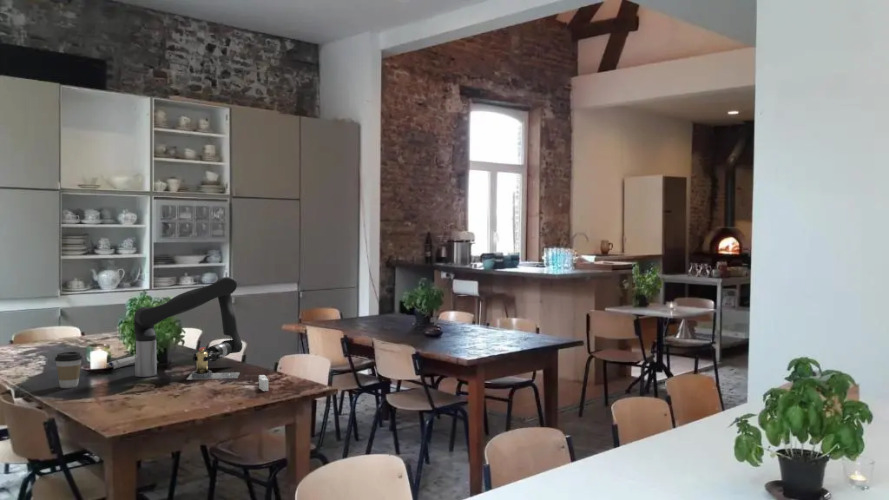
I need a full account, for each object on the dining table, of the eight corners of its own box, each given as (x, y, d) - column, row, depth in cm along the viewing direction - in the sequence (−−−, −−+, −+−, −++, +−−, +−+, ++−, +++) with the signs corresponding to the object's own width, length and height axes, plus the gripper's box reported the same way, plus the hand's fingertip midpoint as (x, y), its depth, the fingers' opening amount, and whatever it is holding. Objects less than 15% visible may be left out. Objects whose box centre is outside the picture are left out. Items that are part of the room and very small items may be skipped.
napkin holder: (269, 393, 321) (269, 380, 321) (245, 392, 323) (245, 379, 322) (282, 385, 336) (282, 373, 335) (259, 384, 337) (259, 372, 337)
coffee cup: (88, 384, 333) (88, 352, 333) (68, 390, 323) (68, 356, 322) (69, 382, 337) (69, 350, 336) (48, 387, 326) (48, 354, 326)
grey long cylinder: (107, 361, 370) (150, 348, 390) (109, 373, 371) (152, 359, 391) (113, 362, 367) (156, 349, 387) (114, 375, 368) (158, 361, 388)
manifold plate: (186, 382, 339) (186, 375, 339) (191, 376, 352) (191, 369, 351) (237, 381, 343) (237, 373, 343) (240, 375, 356) (240, 368, 355)
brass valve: (196, 372, 343) (195, 349, 343) (197, 370, 348) (197, 347, 348) (207, 372, 344) (206, 348, 344) (208, 370, 349) (208, 346, 349)
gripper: (203, 344, 361) (185, 350, 344) (229, 345, 359) (213, 351, 342) (203, 359, 361) (185, 366, 345) (230, 360, 359) (213, 367, 342)
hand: (199, 358), depth 343 cm, fingers closed on brass valve, 5 cm apart
